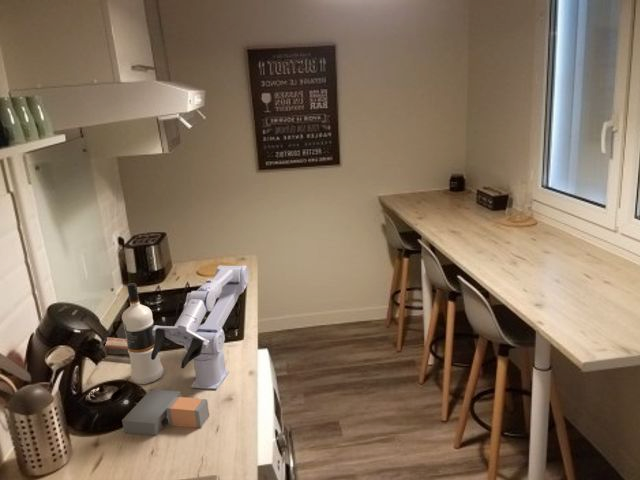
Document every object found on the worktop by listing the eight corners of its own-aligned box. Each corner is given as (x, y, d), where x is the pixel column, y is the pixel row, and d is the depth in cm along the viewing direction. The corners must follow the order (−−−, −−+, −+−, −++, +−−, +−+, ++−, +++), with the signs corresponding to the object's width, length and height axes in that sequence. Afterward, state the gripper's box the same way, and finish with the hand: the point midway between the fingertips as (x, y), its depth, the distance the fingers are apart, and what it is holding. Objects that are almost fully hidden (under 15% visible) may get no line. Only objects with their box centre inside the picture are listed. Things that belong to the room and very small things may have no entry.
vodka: (165, 380, 155) (149, 286, 146) (132, 388, 152) (114, 292, 143) (162, 366, 163) (147, 276, 154) (131, 373, 160) (114, 281, 151)
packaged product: (88, 347, 169) (108, 333, 178) (91, 360, 171) (111, 345, 180) (136, 351, 164) (154, 336, 173) (139, 364, 166) (156, 349, 175)
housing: (168, 424, 134) (165, 408, 133) (178, 413, 139) (175, 396, 137) (201, 427, 132) (198, 410, 131) (209, 415, 137) (207, 399, 135)
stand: (153, 400, 145) (151, 389, 144) (182, 402, 143) (180, 391, 142) (124, 432, 132) (121, 420, 131) (156, 435, 130) (154, 423, 129)
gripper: (162, 305, 137) (139, 342, 126) (215, 320, 137) (197, 358, 126) (161, 324, 141) (139, 361, 130) (213, 338, 141) (195, 377, 130)
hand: (167, 361), depth 128 cm, fingers open, 7 cm apart
